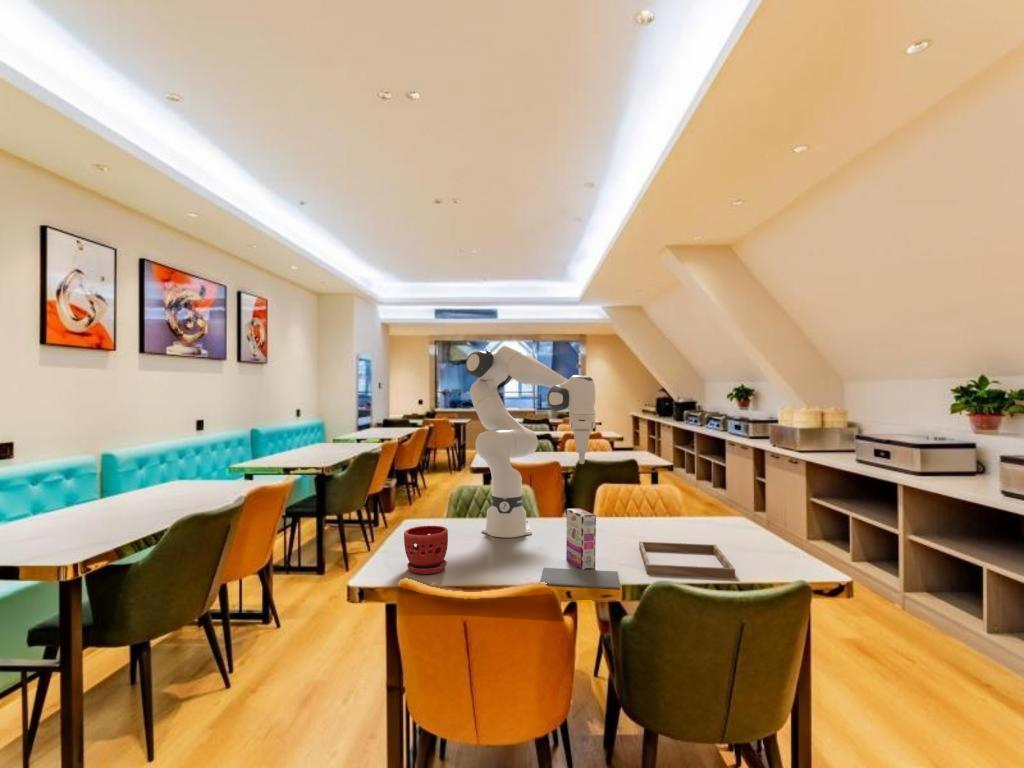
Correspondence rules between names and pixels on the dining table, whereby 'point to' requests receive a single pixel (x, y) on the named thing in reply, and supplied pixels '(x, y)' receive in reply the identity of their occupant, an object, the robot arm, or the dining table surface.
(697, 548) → the serving tray rim
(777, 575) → the dining table surface
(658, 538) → the dining table surface
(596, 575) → the mat
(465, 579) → the dining table surface
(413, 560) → the plant pot
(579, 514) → the candy bar box
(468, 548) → the dining table surface
